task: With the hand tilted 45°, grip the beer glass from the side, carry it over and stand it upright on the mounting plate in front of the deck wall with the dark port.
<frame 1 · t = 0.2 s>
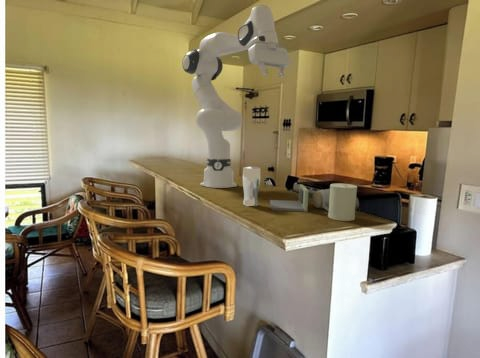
hand: (273, 75, 143), 52 cm above the worktop, tool tilted 20°, fingers open, 8 cm apart
can: (341, 218, 123), on the worktop
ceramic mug: (327, 209, 136), on the worktop
beer glass: (250, 205, 139), on the worktop
chute mount: (285, 206, 137), on the worktop
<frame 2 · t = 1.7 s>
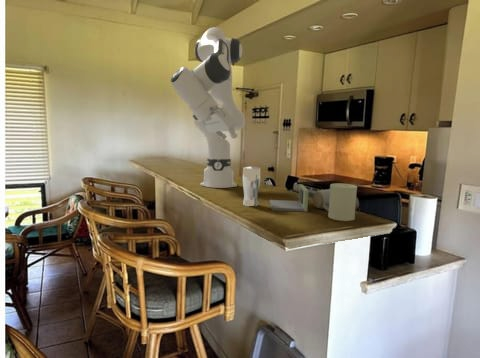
hand: (229, 138, 130), 26 cm above the worktop, tool tilted 40°, fingers open, 8 cm apart
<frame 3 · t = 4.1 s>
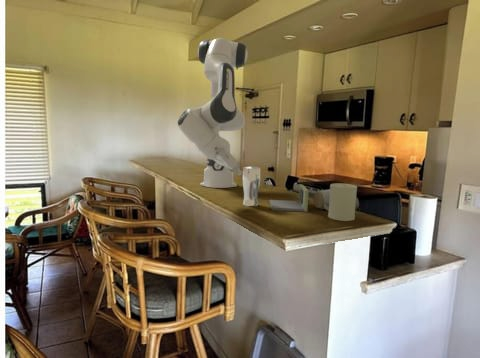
hand: (236, 172, 135), 13 cm above the worktop, tool tilted 45°, fingers open, 8 cm apart
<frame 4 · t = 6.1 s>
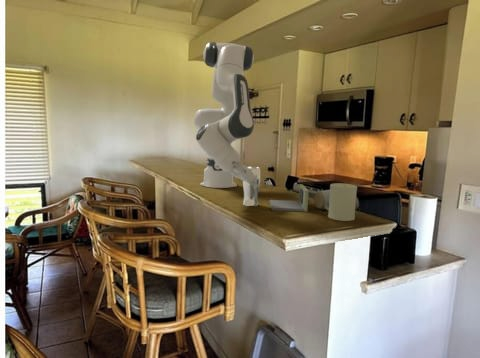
hand: (252, 185, 138), 8 cm above the worktop, tool tilted 45°, fingers closed on beer glass, 7 cm apart
beer glass: (250, 205, 139), on the worktop, touching gripper
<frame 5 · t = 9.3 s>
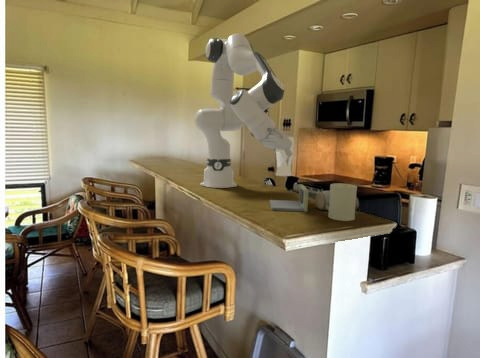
hand: (285, 154, 134), 21 cm above the worktop, tool tilted 45°, fingers closed on beer glass, 7 cm apart
beer glass: (283, 175, 136), point 12 cm above the worktop, touching gripper
when the fingers open (10 cm above the worktop, at t = 12.3 s): beer glass drops 1 cm, resting on chute mount.
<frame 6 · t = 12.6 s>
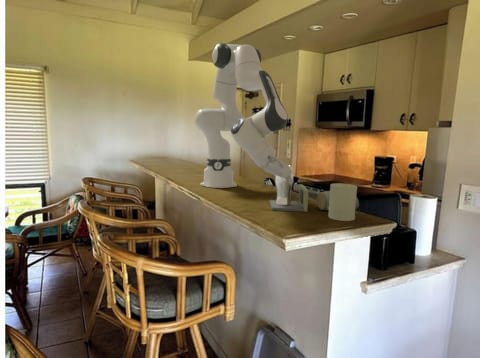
hand: (286, 180, 136), 10 cm above the worktop, tool tilted 45°, fingers open, 8 cm apart
beer glass: (283, 204, 138), point 1 cm above the worktop, touching chute mount
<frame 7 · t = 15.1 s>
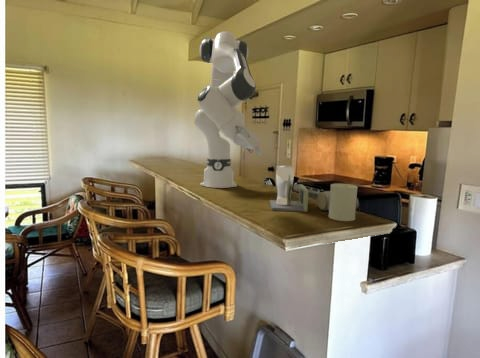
hand: (255, 153, 131), 21 cm above the worktop, tool tilted 45°, fingers open, 8 cm apart
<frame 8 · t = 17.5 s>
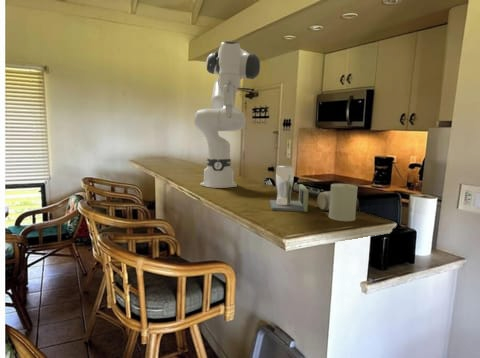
hand: (228, 117, 142), 34 cm above the worktop, tool pointing down, fingers open, 8 cm apart
at the end: beer glass inside the target area on the chute mount (0.5 cm from its centre), point 0.8 cm above the chute mount's base; beer glass tilted 0°; the gripper is holding nothing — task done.
